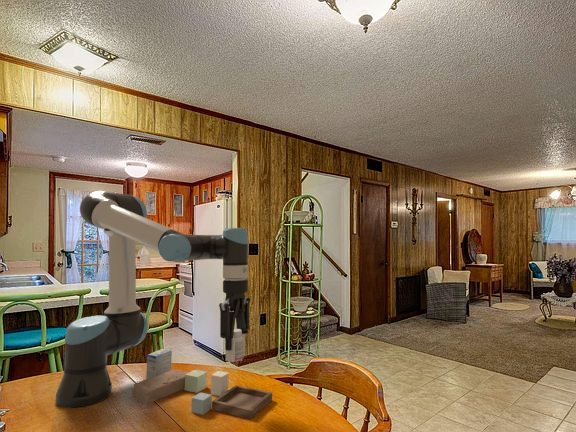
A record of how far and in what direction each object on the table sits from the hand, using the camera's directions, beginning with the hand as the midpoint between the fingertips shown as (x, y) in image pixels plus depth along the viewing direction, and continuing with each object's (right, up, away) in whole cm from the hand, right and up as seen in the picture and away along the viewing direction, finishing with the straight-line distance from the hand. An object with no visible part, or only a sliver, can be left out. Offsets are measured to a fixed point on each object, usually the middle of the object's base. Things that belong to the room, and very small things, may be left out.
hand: (235, 358), depth 107 cm
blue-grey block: (-9, -14, -4) cm, 17 cm away
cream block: (-6, -14, +8) cm, 18 cm away
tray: (+2, -14, 0) cm, 14 cm away
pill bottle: (0, -1, 0) cm, 1 cm away
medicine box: (-30, -15, +21) cm, 40 cm away
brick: (-25, -15, +8) cm, 30 cm away
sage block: (-15, -15, +11) cm, 23 cm away
